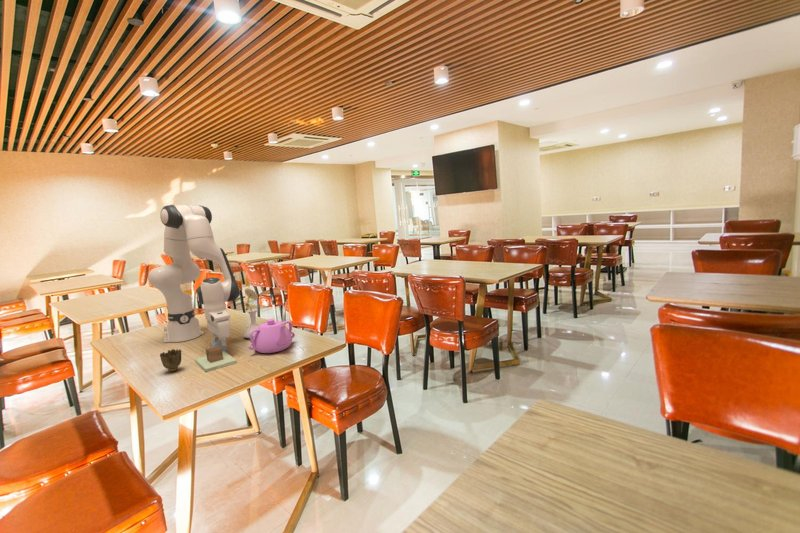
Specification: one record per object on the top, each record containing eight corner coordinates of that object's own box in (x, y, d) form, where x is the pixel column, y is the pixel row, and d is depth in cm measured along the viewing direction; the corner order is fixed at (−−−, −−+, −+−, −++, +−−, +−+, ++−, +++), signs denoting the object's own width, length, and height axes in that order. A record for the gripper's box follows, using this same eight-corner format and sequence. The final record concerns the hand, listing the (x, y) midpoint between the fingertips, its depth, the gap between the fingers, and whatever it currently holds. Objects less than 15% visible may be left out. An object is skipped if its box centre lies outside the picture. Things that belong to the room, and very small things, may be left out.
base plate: (195, 361, 159) (194, 359, 159) (224, 353, 167) (224, 351, 167) (205, 372, 148) (205, 369, 147) (236, 362, 156) (236, 360, 155)
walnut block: (207, 359, 158) (205, 348, 157) (219, 356, 161) (218, 345, 160) (210, 362, 154) (209, 351, 153) (223, 359, 157) (221, 348, 156)
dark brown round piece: (168, 376, 146) (165, 356, 144) (158, 372, 149) (156, 353, 148) (187, 369, 152) (184, 350, 151) (177, 366, 156) (175, 347, 155)
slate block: (211, 352, 170) (210, 342, 169) (223, 349, 173) (222, 339, 172) (215, 355, 166) (213, 344, 165) (226, 352, 170) (225, 341, 169)
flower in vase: (270, 336, 189) (265, 288, 185) (247, 342, 182) (241, 292, 178) (261, 330, 199) (256, 285, 195) (239, 336, 192) (233, 288, 188)
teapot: (264, 363, 154) (260, 331, 152) (241, 351, 169) (238, 322, 167) (309, 347, 169) (307, 318, 167) (285, 338, 184) (283, 311, 182)
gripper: (201, 312, 173) (206, 340, 175) (215, 318, 158) (220, 350, 160) (216, 309, 177) (220, 337, 179) (231, 315, 162) (235, 345, 164)
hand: (220, 343), depth 169 cm, fingers open, 8 cm apart
